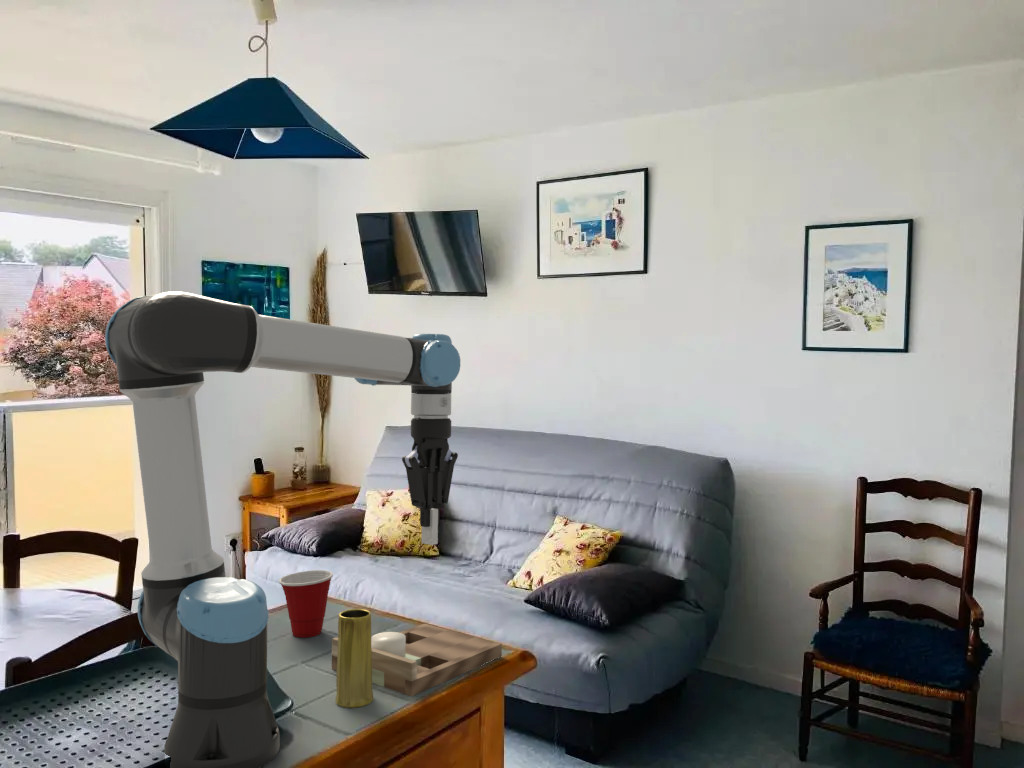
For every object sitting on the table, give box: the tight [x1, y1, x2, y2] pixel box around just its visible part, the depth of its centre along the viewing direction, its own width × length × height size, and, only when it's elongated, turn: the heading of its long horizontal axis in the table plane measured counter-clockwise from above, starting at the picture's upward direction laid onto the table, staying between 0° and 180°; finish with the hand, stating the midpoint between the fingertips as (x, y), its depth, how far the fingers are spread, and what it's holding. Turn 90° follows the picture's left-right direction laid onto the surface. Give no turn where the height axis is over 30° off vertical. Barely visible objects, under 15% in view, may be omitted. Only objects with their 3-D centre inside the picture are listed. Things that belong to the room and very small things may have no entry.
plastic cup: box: [278, 569, 334, 639], centre depth 166 cm, size 11×11×12 cm
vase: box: [334, 608, 375, 709], centre depth 132 cm, size 6×6×14 cm
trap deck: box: [331, 623, 503, 697], centre depth 150 cm, size 24×20×6 cm
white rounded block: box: [371, 631, 406, 658], centre depth 144 cm, size 6×6×4 cm
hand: (429, 543), depth 152 cm, fingers closed
